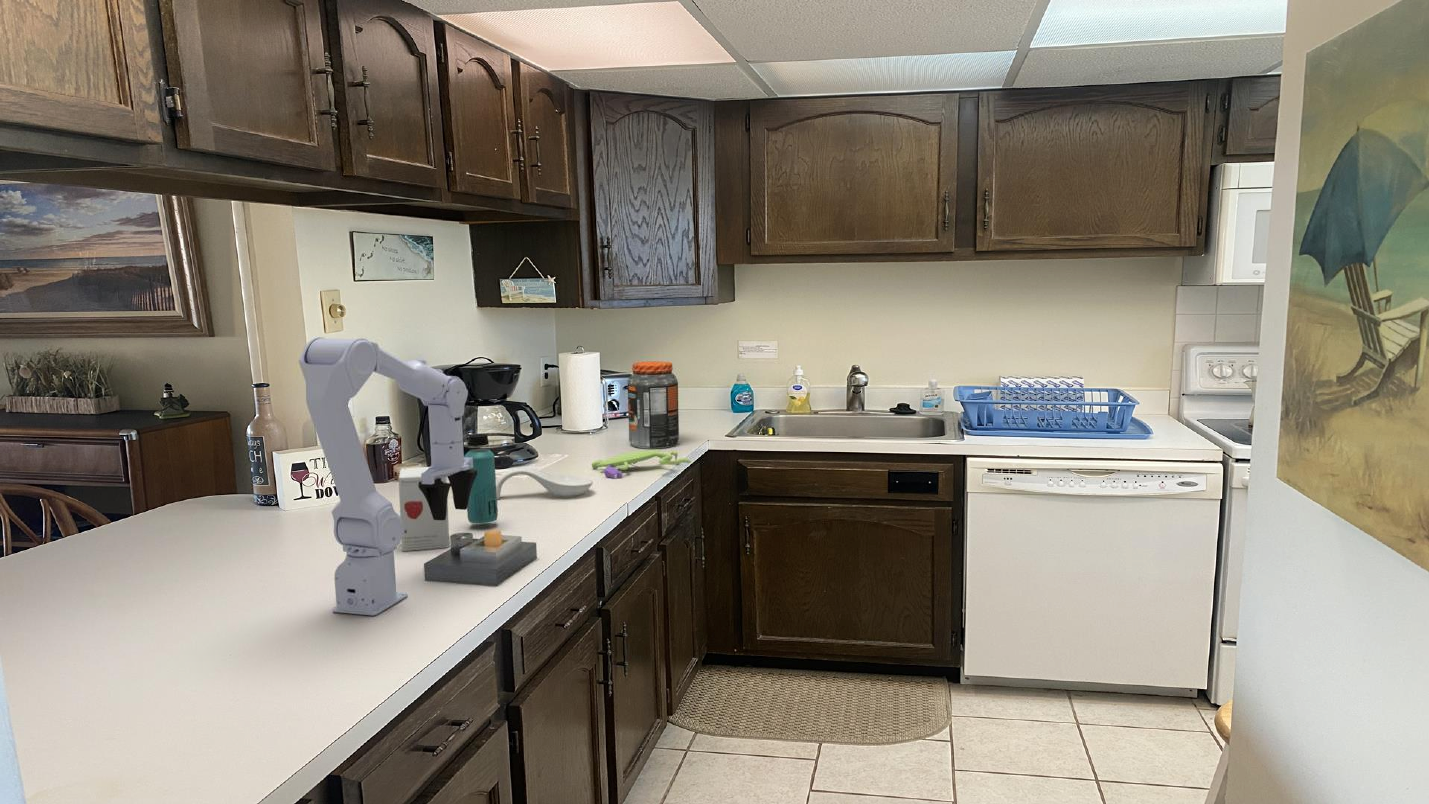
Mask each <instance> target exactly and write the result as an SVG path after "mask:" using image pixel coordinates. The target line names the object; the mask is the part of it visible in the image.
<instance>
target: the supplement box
mask: <svg viewBox="0 0 1429 804" xmlns="http://www.w3.org/2000/svg"><path fill="white" fill-rule="evenodd" d="M429 467H430V466H428V467H427V466H424V467H423V466H422V467H407V468H404V467H403V468H401V469H400V471H399V475H398V494H399V495H398V497H399V516H400V517H401V519H402V522H403V536H402V539H401V550H402V552H406V551H407V552H410V551H421V550H436V549H445V548H449V546H450V532H449V531H450V528H449V508H448V506H449V504H448V503H449V502H448V500H449V499H448V498H449V497H448V498H447V514H446V519H445V520H434V519H433V517H432V514H431V510H430V507H429V505H428V502H427V500H426V498H425V496H424V494H423V493H422V491H421V490H420V489H419V486H418V483H419V482H421V481H422V479H421V473H423V472H425V471H426V470H427V469H428V468H429ZM441 481H443V483H448V482H447V481H448V477H445V478H442V479H441Z"/></svg>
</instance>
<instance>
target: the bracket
mask: <svg viewBox="0 0 1429 804" xmlns="http://www.w3.org/2000/svg"><path fill="white" fill-rule="evenodd" d="M477 539H478V540H476V541H474V542H473V543H471V544H469V545H467V546H466V547H464V548H462V549H460V558H461V561H474V562H488V563H497V562H499V561H500V560H502V559H504V558H505V557H507V556H508V555H510V554H511V553H513V552H514V551H516V550H518V549H519V548H521V547H522V542H523V541H522V540H523V539H522V535H510V534H509V535H508V534H507V535H506V534H505V535H504V534H501V541H502V545H500V546H498V547H485V540H484V535H483V536H482V537H480V538H477Z"/></svg>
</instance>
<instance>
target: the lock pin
mask: <svg viewBox="0 0 1429 804" xmlns="http://www.w3.org/2000/svg"><path fill="white" fill-rule="evenodd" d="M501 535H502V531H501V530H498V529H493V530H492V529H490V530H486V531H484V533H483V536H484V540H485V547H498V546H500V545H502V541H501Z"/></svg>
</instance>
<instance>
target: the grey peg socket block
mask: <svg viewBox="0 0 1429 804" xmlns="http://www.w3.org/2000/svg"><path fill="white" fill-rule="evenodd" d="M478 539H479V538H474V534H473V533H471V532H457V533H454V534H451V535H449V544H450V548H449V549H447V550H446V551H444V552H442V553H441V554H438V555H437V556H435V557H433V558H431V559H430V560H428V561H426V562H424V563H423V575H424V581H431V582H433V581H434V582H446V583H456V584H457V583H459V584H468V585H469V584H471V585H484V586H495V587H496V586H497V587H498V585H501V583H503V582H505V580H508V579H509V578H510V577H512V576H514V575H515V574H516V573H518V572H519V571H520V570H521V569H523V568H524V567H525V566H527V565H529V564H530V563H531V562H533V561H535V560H536V559H537V558H538V553H537V552H538V551H537V548H538V547H537V542H532V541H522V547H521V548H519V549H518V550H516V551H514V552H513V553H511V554H510V555H508V556H507V557H505V558H504V559H502V560H500V561H499V562H497V563H488V562H474V561H461V558H460V549H462V548H464V547H466V546H467V545H469V544H471V543H473V542H474V541H476V540H478Z"/></svg>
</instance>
